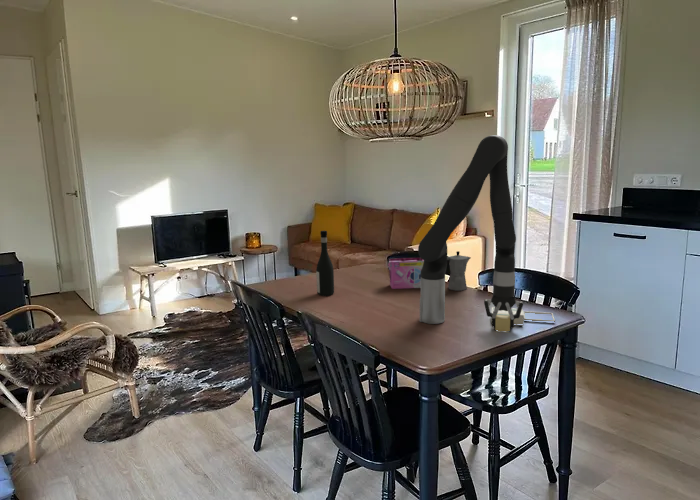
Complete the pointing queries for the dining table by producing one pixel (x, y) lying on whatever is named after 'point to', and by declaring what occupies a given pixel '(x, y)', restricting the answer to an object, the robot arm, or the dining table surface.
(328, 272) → the wine bottle
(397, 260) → the gum box
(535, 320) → the tray
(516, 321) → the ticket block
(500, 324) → the beige block
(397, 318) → the dining table surface
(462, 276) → the coffeepot
